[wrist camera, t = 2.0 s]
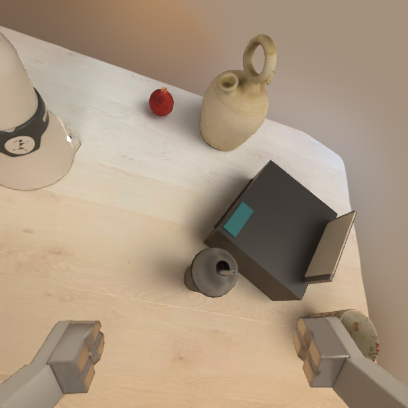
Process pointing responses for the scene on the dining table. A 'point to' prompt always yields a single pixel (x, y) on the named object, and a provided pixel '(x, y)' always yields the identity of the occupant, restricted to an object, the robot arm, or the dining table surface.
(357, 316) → the mug
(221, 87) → the jug
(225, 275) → the beverage cup
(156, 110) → the red pomegranate
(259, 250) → the printer
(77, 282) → the dining table surface
